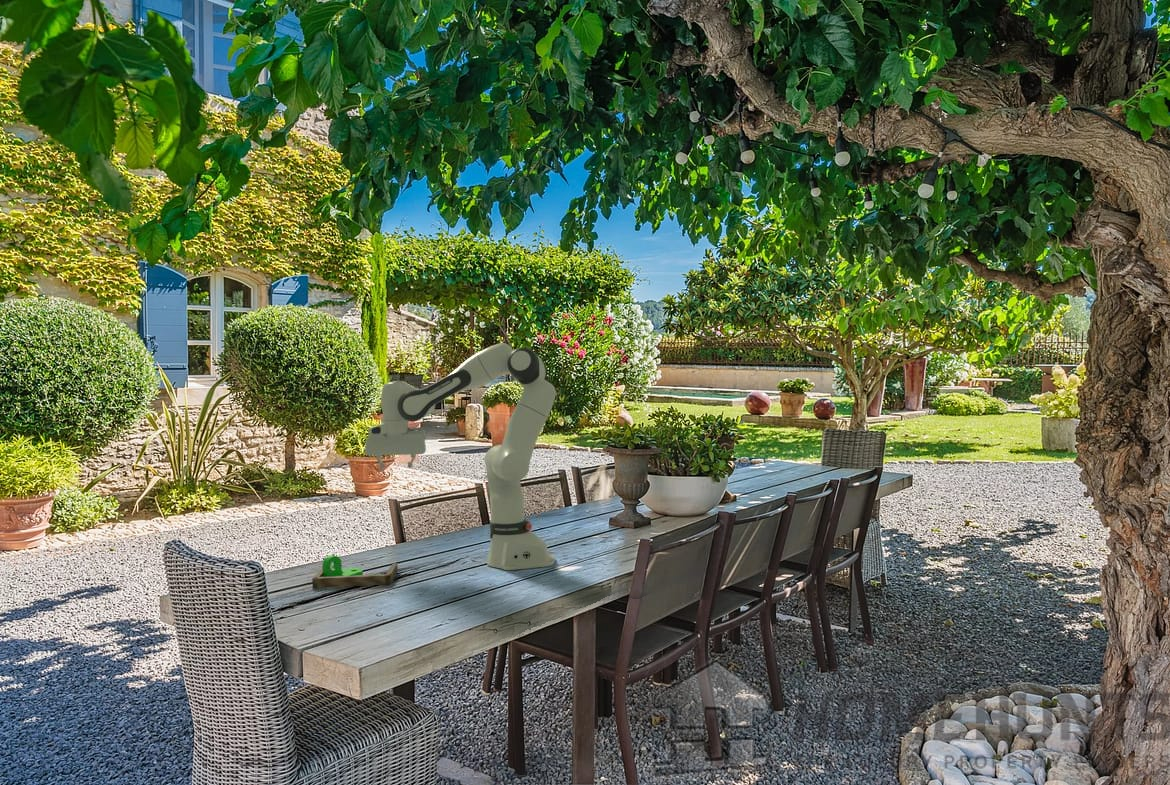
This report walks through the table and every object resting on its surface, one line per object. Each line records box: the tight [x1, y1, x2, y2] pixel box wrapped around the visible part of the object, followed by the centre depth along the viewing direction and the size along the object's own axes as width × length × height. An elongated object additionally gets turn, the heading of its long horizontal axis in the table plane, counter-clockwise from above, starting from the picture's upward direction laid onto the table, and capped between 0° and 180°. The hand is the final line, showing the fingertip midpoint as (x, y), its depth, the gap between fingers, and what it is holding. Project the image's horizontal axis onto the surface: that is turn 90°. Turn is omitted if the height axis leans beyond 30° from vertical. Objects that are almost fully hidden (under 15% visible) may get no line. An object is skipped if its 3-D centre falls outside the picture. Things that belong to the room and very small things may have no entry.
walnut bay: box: [311, 562, 399, 589], centre depth 235 cm, size 23×14×3 cm, turn 95°
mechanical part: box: [321, 554, 364, 577], centre depth 237 cm, size 12×6×8 cm, turn 146°
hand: (396, 467), depth 261 cm, fingers open, 8 cm apart
